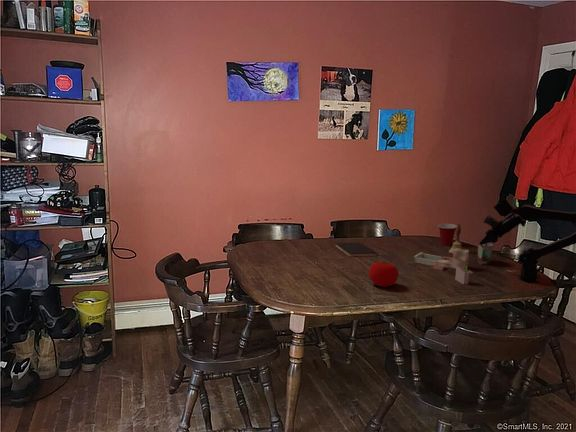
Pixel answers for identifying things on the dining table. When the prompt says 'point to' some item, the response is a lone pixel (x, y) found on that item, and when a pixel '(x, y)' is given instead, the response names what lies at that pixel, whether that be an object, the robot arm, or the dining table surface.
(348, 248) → the hardcover book
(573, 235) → the robot arm
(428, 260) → the channel
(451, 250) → the hand bell
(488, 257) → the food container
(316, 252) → the dining table surface
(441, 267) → the trap bays
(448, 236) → the plastic cup
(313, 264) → the dining table surface
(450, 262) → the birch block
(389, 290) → the dining table surface
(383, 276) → the tomato
